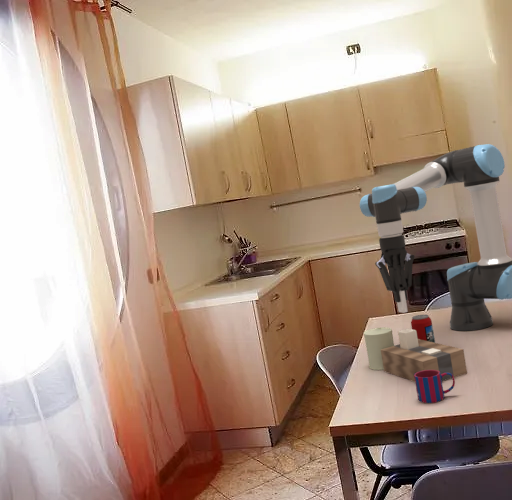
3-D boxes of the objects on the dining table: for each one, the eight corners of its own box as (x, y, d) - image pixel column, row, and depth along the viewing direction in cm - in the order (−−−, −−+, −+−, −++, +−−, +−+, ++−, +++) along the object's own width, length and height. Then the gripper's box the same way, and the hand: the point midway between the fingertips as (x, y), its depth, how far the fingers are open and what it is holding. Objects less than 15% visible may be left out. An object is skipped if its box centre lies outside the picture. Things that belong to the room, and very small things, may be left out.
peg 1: (412, 350, 194) (408, 328, 193) (419, 352, 190) (416, 330, 189) (401, 353, 192) (397, 331, 192) (408, 355, 188) (405, 333, 188)
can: (399, 360, 203) (393, 324, 202) (396, 368, 195) (390, 331, 194) (371, 362, 206) (365, 327, 206) (367, 371, 198) (360, 334, 197)
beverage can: (437, 352, 204) (431, 317, 203) (416, 355, 205) (410, 320, 204) (435, 347, 210) (429, 313, 210) (415, 349, 212) (409, 315, 211)
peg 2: (436, 371, 184) (432, 348, 183) (445, 373, 180) (441, 350, 179) (425, 374, 182) (421, 351, 182) (433, 377, 178) (429, 353, 178)
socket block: (384, 371, 194) (380, 349, 194) (421, 360, 199) (417, 338, 198) (426, 385, 173) (422, 361, 173) (467, 372, 178) (463, 349, 178)
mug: (418, 395, 167) (413, 371, 167) (456, 392, 165) (452, 367, 164) (418, 404, 161) (414, 378, 160) (458, 400, 158) (454, 374, 158)
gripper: (402, 232, 194) (413, 306, 196) (366, 239, 190) (378, 315, 191) (416, 231, 187) (428, 308, 189) (379, 239, 183) (391, 317, 184)
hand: (403, 311), depth 190 cm, fingers closed
